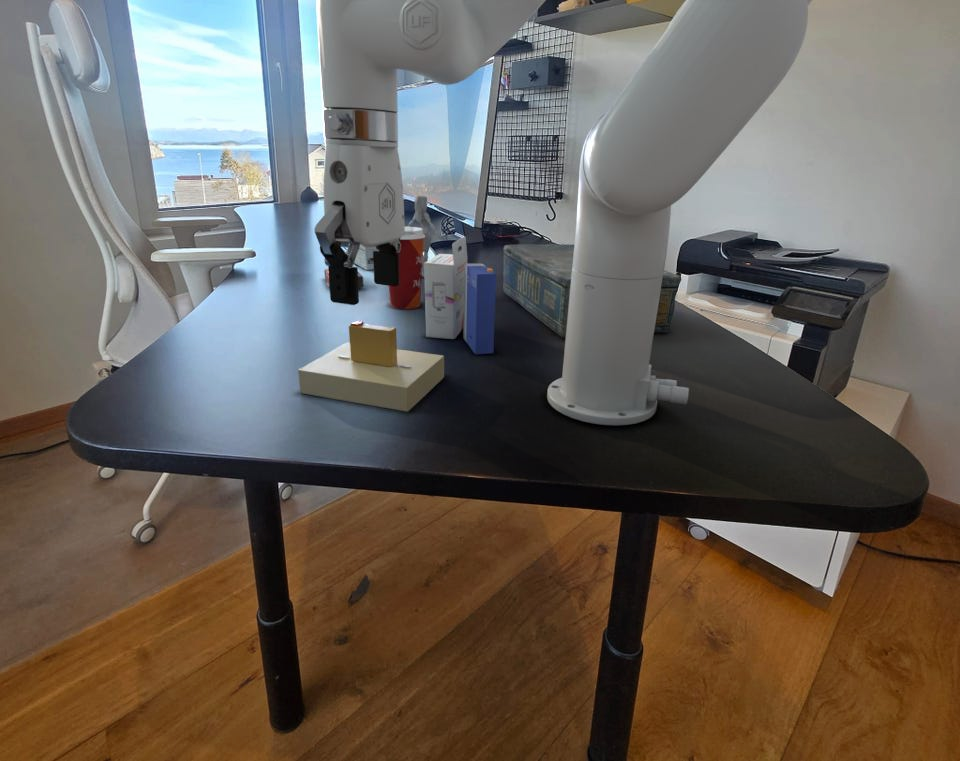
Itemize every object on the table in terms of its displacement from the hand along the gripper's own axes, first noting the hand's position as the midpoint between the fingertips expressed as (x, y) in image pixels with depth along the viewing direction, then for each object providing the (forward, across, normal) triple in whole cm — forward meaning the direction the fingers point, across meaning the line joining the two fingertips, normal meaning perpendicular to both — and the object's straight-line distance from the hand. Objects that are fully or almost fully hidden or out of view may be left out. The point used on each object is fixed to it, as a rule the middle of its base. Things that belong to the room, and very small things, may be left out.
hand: (367, 293), depth 63 cm
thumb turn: (+8, 0, -1) cm, 8 cm away
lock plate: (+12, 0, -1) cm, 12 cm away
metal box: (+11, +45, -19) cm, 50 cm away
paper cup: (+12, +36, +12) cm, 40 cm away
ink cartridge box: (+12, +24, -1) cm, 27 cm away
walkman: (+12, +19, -8) cm, 24 cm away
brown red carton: (+12, +47, +32) cm, 58 cm away
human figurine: (+12, +60, +19) cm, 64 cm away
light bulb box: (+12, +67, +36) cm, 77 cm away
